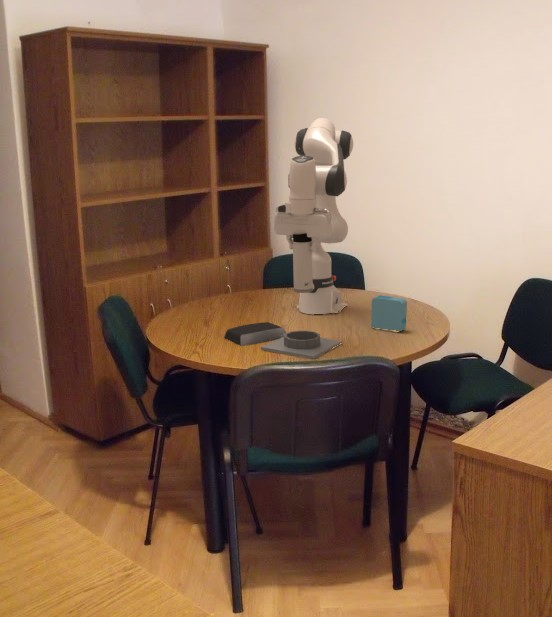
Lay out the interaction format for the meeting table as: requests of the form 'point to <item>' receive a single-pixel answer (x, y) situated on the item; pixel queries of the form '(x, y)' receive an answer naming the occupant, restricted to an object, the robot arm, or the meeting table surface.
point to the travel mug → (302, 263)
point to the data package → (389, 313)
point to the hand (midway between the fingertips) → (302, 250)
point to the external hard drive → (254, 333)
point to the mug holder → (301, 344)
